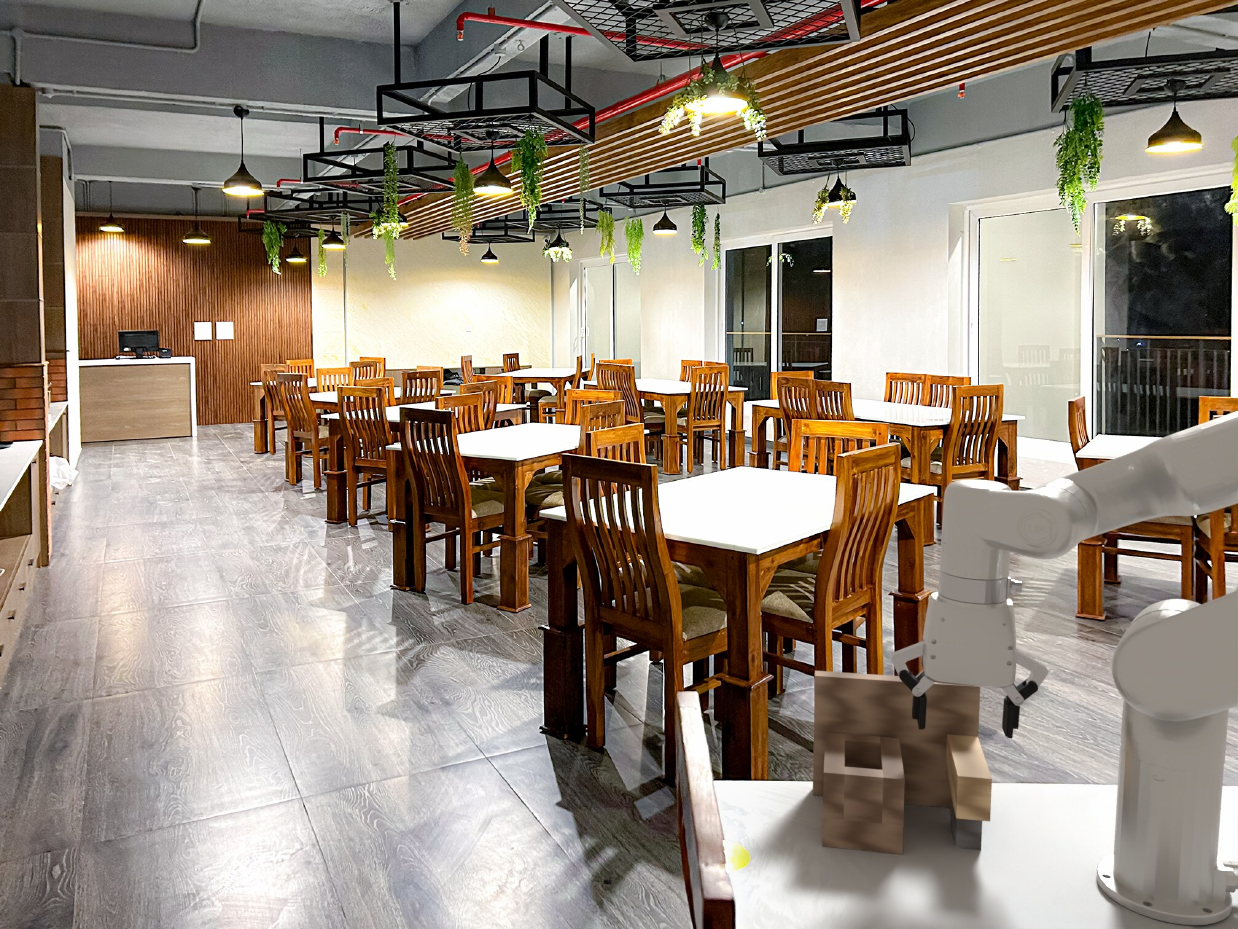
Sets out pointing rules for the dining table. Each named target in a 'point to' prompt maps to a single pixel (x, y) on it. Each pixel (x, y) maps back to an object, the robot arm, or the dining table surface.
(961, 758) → the tan grey block
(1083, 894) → the dining table surface
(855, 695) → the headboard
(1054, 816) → the dining table surface
